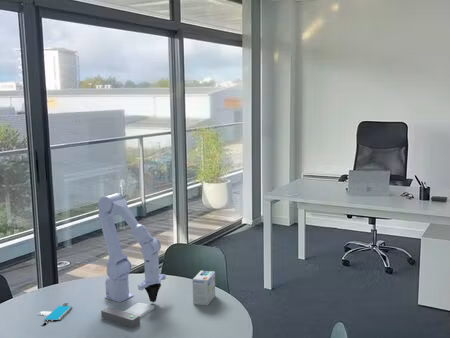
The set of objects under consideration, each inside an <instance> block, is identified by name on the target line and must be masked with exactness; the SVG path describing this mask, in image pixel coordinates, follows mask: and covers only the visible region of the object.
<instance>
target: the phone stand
mask: <svg viewBox="0 0 450 338" xmlns="http://www.w3.org/2000/svg"><path fill="white" fill-rule="evenodd" d="M68 304H69V303H64V304H62V305H57V307H55V309H53V310H52V311H46V310H45V311H44V310H43V311H42V310H41V311H40V312H39V313H41V315H42V314H43V315H44V316H43V317H44V320H45V321H46V322H47V323H46V322H45V321H44V322H45V323H46V325H47V324H49V323H50V322H52V321H51V320H57V321H58V320H59V321H61V320H62V319H63V318H64V317H66V316H67V315H68V314H69V313H70V312H71V311H72V309H73V306H71V305H70V306H69V305H68ZM68 312H69V313H68ZM47 320H48V321H47ZM49 321H50V322H49Z"/></svg>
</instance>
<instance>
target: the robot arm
mask: <svg viewBox="0 0 450 338" xmlns="http://www.w3.org/2000/svg"><path fill="white" fill-rule="evenodd" d="M97 207H98V219H99V223H100V227H101V230H102V234H103V239H104V241H105V246H106V250H107V253H108V259H107V261H106V264H105V265H106V276H107V278H106V280H105V296H104V298H105V299H108V300H110V301H111V300H112V301H116V302H118V303H121V302H124V301H125V300H128V299H131V297H134V294H133V293H130V287H129V283H130V282H129V276H130V272H131V270H132V264H131V261H130V260H129V259H128V255H127V254H125V253H123V251H122V246H121V244H120V239H119V235H118V232H117V228H116V224H115V219H114V216H115V215H119V216H120V217H121V218H122V219H123V221H124V222H126V224H127V225H128V226H129V228H130V229H131V235H132V236H133V238H134V239H135V240H136V241H137V243H138V245H139V246H140V247H141V248H140V252H141V254H142V256H143V261H144V262H143V263H144V280H143V281H142V282H141V283H139V284H137V290H138V291H139V290H140V291H144V290H145V291H146V294H147V296H148V299H149V301H150V302H151V303H155V302H156V301H157V297H158V294H159V290H160V288H161V287H162V284H161V282H162V280H163V281H164V280H167V276H166V275H167V274H164V273H161V274H160V268H159V267H160V263H159V259H160V258H159V251H160V250H161V247H162V245H161V242H160V241H159V239H158V238H156V237H154V236H152V234H150V232H149V231H148V230H147V226H146V225H144V224H140V223H139V221H138V220H137V218H136V217H135V215H134V214H133V212H132V211H131V209H130V207H129V206H128V203H127V199H125V198H124V195H123V194H121V193H120V192H115V193H113V194H109V195H106V196H101V197H100V198H99V201H98V202H97Z"/></svg>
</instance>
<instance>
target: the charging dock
mask: <svg viewBox="0 0 450 338" xmlns="http://www.w3.org/2000/svg"><path fill="white" fill-rule="evenodd" d="M100 314H101V316H100V317H101V319H104V320H107V321H109V322H113V323H116V324H118V325H121V326H122V325H123V326H126V327H128V328H131V329H133V328H135V327H137V326H139V325H140V324H141V318H140V316H138V315H135V314H131V313H128V312H125V310H120V309H117V308H114V307H112V306H108V307H106V308H104V309H101V310H100Z"/></svg>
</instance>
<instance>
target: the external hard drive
mask: <svg viewBox="0 0 450 338" xmlns="http://www.w3.org/2000/svg"><path fill="white" fill-rule="evenodd" d="M154 309H156V307H155V305H152V304H149V303H143V302H136V303H135V304H133V305H132V306H130V307H129V308H127V309H125V310H124V311H125V312H128V313H131V314H135V315H138V316H140V319H141V318H142V317H144V316H145V315H146V314H148V313H150V312H151V311H153V310H154Z"/></svg>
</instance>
